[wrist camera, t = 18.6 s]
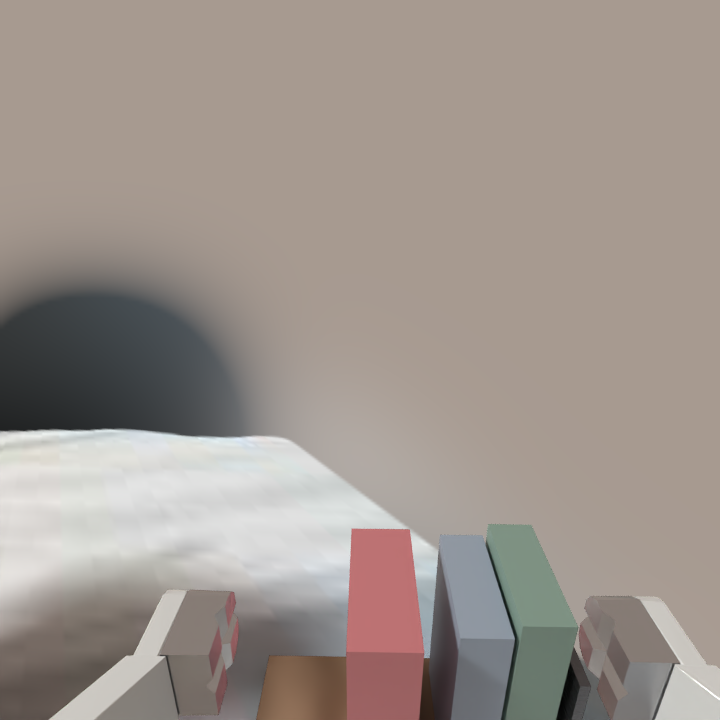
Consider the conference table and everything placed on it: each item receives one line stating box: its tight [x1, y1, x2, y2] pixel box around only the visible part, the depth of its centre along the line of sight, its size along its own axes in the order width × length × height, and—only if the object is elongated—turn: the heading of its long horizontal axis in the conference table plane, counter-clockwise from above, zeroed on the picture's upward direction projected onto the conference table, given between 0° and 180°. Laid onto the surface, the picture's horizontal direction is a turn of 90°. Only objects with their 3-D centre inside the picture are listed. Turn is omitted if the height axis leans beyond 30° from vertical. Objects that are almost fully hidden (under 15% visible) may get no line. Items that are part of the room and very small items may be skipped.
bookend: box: [556, 647, 591, 720], centre depth 33 cm, size 1×9×11 cm, turn 0°
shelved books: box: [429, 524, 578, 720], centre depth 32 cm, size 6×8×15 cm
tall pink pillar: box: [346, 529, 424, 720], centre depth 31 cm, size 4×9×15 cm, turn 179°
